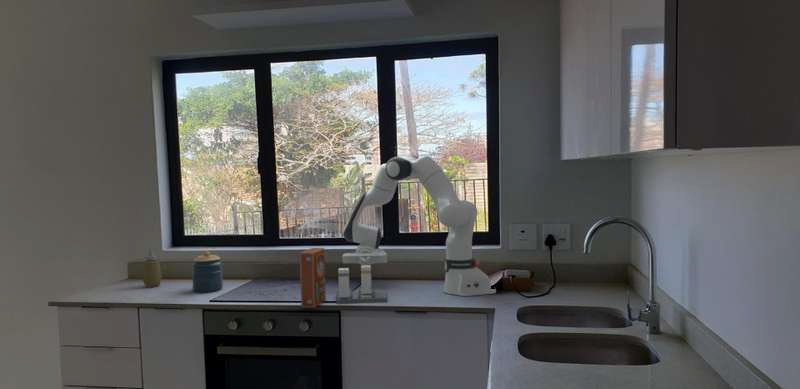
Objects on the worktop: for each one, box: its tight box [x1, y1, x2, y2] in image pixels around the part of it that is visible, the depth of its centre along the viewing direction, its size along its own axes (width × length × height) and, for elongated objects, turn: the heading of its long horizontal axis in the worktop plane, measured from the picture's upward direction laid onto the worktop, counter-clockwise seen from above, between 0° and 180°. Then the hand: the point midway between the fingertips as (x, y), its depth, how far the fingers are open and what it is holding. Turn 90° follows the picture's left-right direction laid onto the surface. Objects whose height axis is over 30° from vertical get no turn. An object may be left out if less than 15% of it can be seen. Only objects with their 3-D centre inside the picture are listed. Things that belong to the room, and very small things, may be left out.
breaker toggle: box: [360, 264, 372, 294], centre depth 201 cm, size 4×4×11 cm
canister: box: [191, 250, 224, 293], centre depth 221 cm, size 13×13×18 cm
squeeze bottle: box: [142, 248, 163, 288], centre depth 230 cm, size 8×8×18 cm
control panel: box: [299, 247, 327, 309], centre depth 192 cm, size 21×7×15 cm
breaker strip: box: [335, 267, 388, 305], centre depth 199 cm, size 20×14×13 cm
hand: (364, 260), depth 214 cm, fingers closed
